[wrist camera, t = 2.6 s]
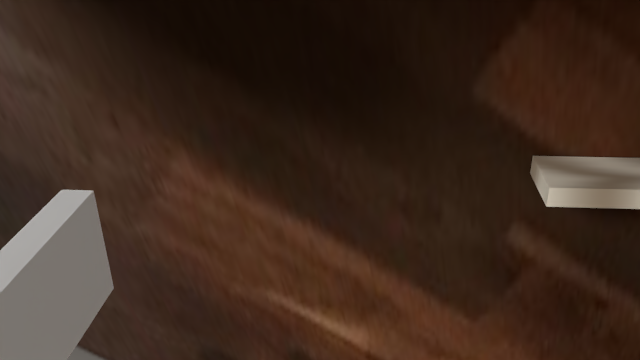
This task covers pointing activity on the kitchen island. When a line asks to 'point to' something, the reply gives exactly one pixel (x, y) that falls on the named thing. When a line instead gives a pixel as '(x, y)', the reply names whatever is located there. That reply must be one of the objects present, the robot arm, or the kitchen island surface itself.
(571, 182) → the channel
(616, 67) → the kitchen island surface
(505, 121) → the kitchen island surface
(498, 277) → the kitchen island surface
